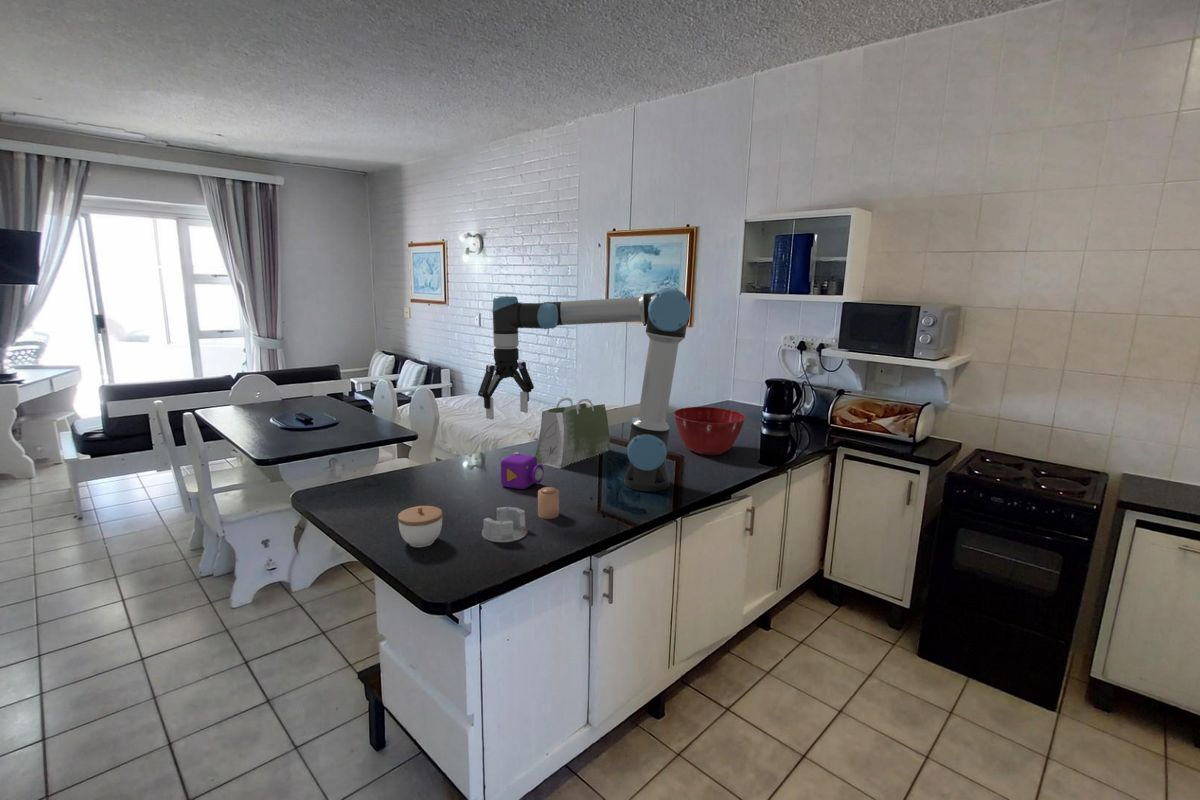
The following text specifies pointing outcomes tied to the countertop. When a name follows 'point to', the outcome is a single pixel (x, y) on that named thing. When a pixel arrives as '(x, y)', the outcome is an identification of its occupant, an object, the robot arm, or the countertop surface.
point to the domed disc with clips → (505, 526)
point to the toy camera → (520, 471)
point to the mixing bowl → (708, 428)
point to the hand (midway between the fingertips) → (507, 415)
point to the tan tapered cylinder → (548, 503)
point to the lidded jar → (420, 525)
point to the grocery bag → (572, 433)
